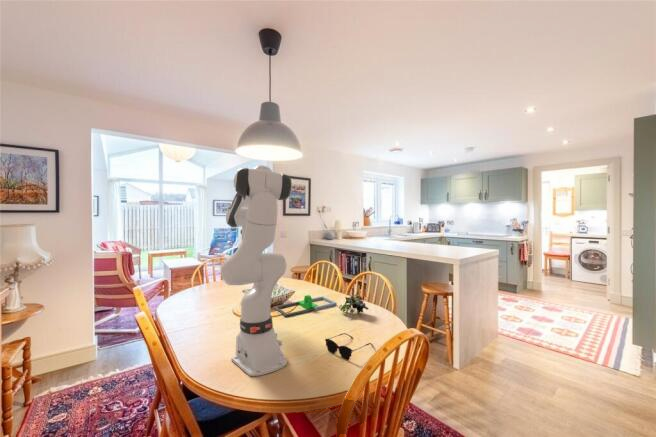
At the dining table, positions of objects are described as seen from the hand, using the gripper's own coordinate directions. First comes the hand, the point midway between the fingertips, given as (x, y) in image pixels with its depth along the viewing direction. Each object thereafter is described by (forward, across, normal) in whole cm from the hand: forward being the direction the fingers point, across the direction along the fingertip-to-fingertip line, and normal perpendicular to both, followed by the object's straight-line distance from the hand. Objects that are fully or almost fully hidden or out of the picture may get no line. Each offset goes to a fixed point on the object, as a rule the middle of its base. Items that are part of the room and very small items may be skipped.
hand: (250, 256), depth 150 cm
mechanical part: (+32, -8, -31) cm, 45 cm away
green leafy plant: (+32, -33, -45) cm, 64 cm away
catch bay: (+31, -8, -38) cm, 50 cm away
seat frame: (+31, -8, -22) cm, 39 cm away
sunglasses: (+32, -61, -21) cm, 72 cm away
